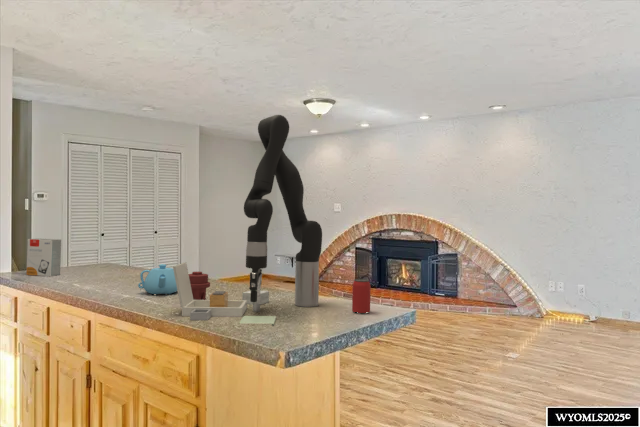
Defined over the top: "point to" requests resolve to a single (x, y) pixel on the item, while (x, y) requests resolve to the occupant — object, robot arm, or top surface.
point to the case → (202, 307)
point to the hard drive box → (43, 257)
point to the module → (219, 299)
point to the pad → (258, 320)
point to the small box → (263, 297)
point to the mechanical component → (199, 285)
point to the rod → (257, 304)
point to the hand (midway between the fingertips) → (255, 299)
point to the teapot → (159, 280)
